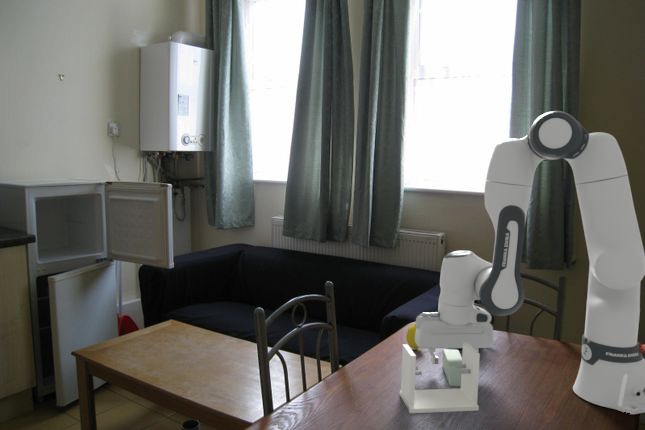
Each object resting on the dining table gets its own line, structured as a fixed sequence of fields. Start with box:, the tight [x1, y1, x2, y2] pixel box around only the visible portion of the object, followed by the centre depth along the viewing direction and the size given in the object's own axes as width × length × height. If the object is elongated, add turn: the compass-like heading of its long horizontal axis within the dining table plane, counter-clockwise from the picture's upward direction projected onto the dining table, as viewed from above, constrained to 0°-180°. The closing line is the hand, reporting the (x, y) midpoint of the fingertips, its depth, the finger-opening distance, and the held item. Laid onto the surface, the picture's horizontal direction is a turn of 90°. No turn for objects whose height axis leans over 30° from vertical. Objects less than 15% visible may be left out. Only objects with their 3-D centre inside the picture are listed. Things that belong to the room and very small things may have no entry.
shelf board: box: [442, 348, 462, 387], centre depth 134 cm, size 12×4×5 cm, turn 175°
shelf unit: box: [399, 343, 481, 414], centre depth 119 cm, size 16×9×13 cm, turn 96°
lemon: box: [406, 323, 420, 351], centre depth 151 cm, size 6×6×8 cm
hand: (452, 363), depth 135 cm, fingers open, 8 cm apart
